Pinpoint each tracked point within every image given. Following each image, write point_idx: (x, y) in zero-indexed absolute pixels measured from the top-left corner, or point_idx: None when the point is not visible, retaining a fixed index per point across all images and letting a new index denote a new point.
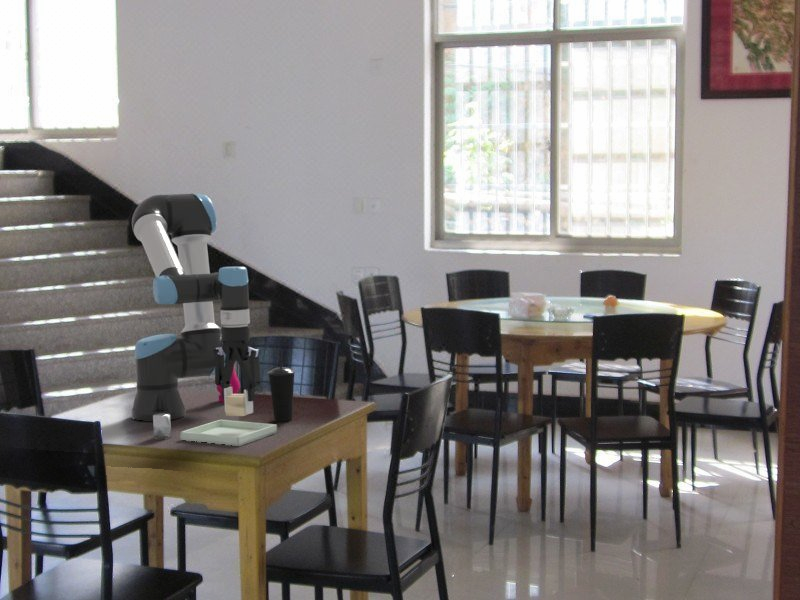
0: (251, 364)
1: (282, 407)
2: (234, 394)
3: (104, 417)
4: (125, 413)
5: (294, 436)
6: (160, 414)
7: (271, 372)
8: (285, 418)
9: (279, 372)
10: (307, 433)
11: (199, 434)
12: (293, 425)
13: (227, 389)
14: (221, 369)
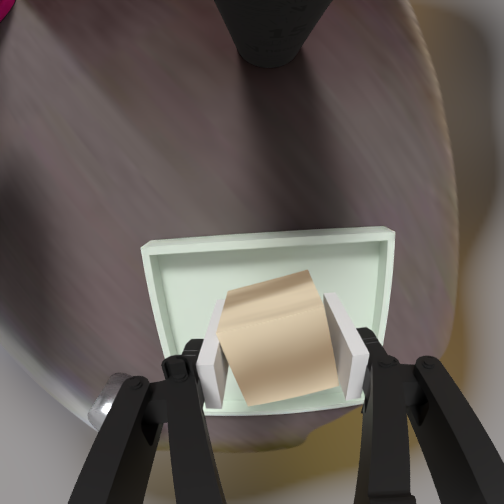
0: (450, 497)
1: (296, 46)
2: (240, 348)
3: None
4: None
5: (444, 245)
6: (98, 420)
7: None
8: (295, 55)
9: None
10: (456, 197)
11: (245, 414)
12: (362, 103)
13: (221, 397)
14: (135, 470)
